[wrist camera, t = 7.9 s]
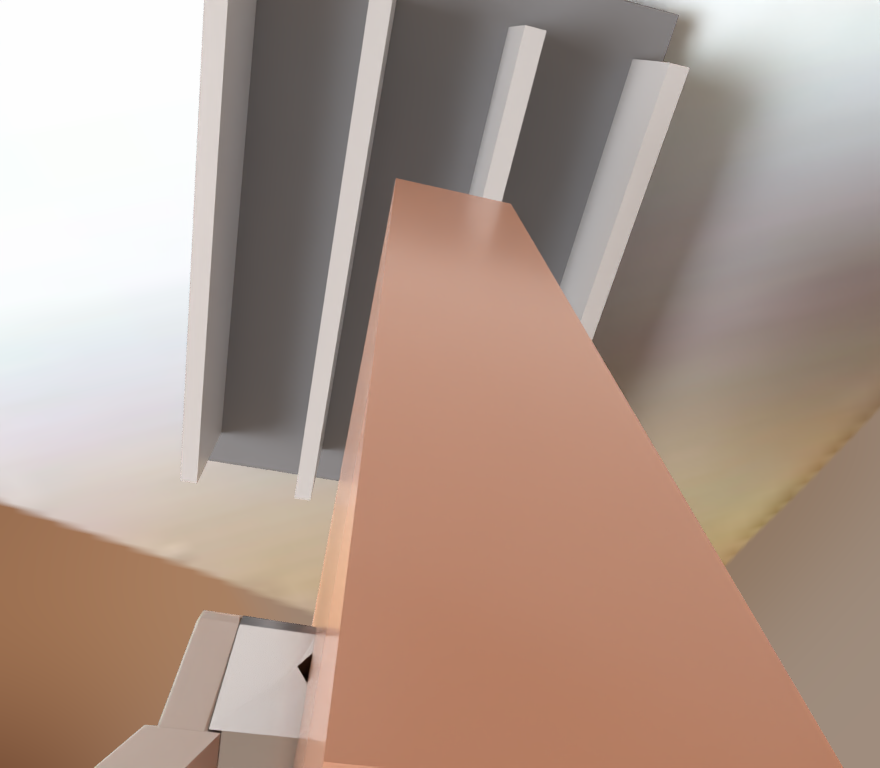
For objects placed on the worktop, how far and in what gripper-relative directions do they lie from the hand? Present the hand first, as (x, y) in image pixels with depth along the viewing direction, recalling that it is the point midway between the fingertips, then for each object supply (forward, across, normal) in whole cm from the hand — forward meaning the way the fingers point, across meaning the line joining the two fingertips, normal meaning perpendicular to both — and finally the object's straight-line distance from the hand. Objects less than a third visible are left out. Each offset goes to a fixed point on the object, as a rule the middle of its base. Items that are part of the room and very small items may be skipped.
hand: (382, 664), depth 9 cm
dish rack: (+19, 0, 0) cm, 19 cm away
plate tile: (+5, 0, 0) cm, 5 cm away
